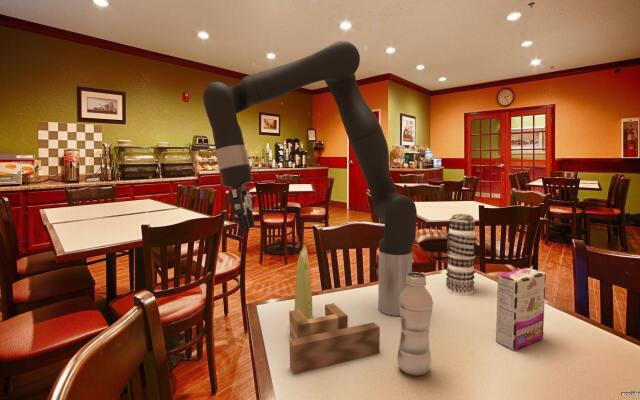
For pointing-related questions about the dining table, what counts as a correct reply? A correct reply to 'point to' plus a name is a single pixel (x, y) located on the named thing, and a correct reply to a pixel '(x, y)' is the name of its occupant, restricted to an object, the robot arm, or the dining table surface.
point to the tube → (303, 285)
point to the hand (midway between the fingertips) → (248, 229)
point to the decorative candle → (461, 254)
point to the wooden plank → (334, 347)
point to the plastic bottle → (415, 325)
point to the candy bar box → (520, 308)
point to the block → (317, 322)
